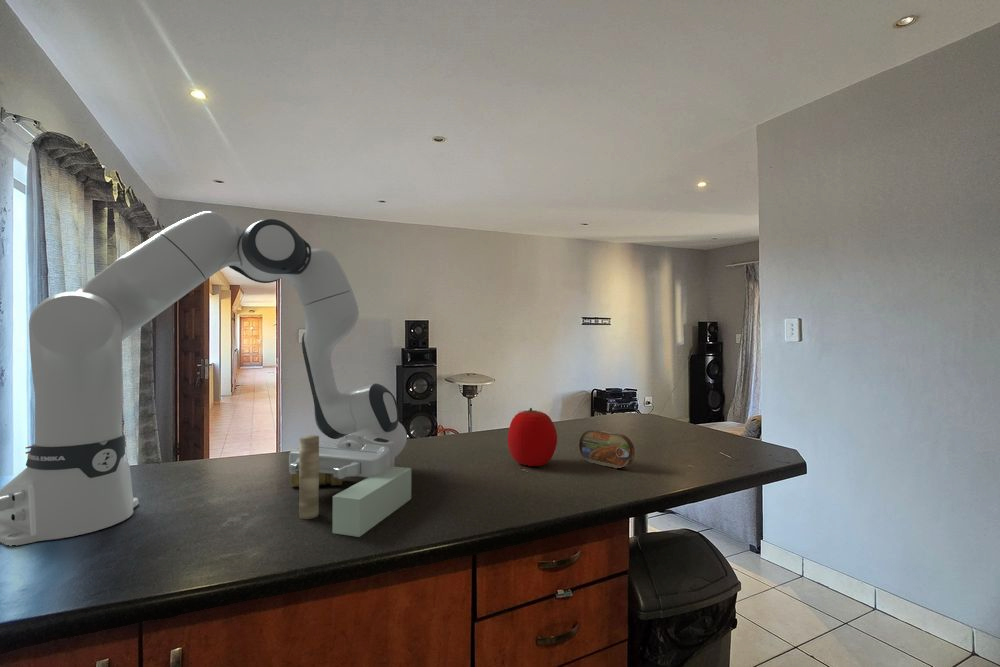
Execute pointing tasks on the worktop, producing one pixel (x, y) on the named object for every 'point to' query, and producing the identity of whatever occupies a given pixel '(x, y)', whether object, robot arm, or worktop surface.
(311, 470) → the dowel
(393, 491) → the pale mint rectangular block
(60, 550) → the worktop surface
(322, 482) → the gavel
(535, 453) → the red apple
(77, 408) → the robot arm
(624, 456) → the tin
